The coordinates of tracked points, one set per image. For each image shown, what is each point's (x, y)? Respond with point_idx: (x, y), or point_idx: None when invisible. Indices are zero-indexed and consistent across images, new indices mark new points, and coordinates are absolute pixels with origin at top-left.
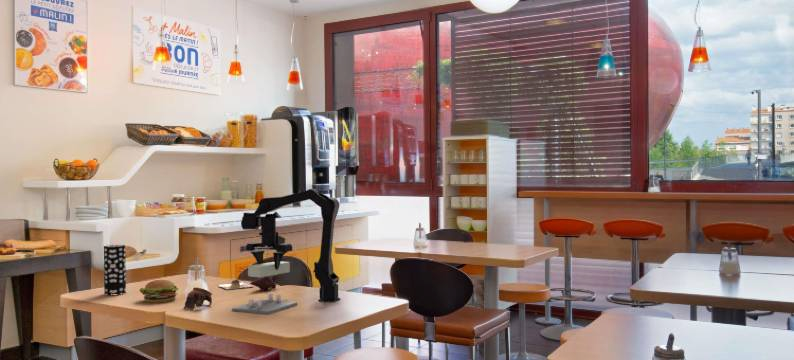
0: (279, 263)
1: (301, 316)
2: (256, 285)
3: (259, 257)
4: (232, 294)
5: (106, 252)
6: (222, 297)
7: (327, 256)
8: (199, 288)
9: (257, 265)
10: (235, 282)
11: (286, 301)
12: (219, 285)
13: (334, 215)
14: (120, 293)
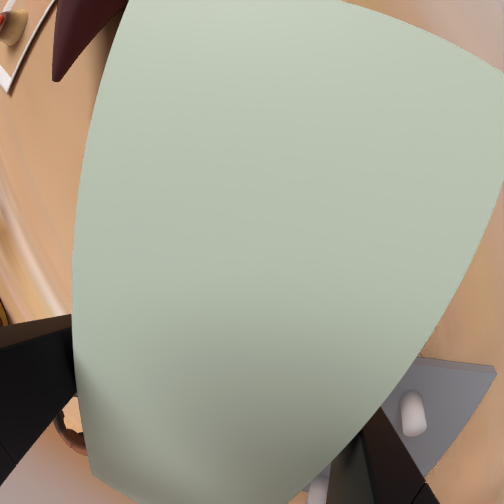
0: (399, 462)
1: (495, 484)
2: (84, 48)
3: (10, 431)
4: (52, 162)
5: None
6: (57, 240)
7: None
8: (84, 454)
9: (142, 484)
10: (3, 32)
11: (445, 370)
12: None
13: None
14: None
